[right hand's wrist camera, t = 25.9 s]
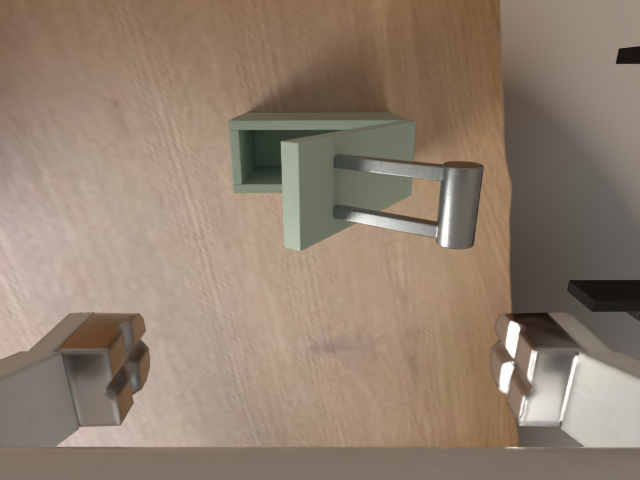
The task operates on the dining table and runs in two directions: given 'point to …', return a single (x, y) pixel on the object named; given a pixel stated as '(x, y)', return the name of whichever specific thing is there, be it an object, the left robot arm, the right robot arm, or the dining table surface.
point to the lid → (371, 186)
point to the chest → (273, 127)
